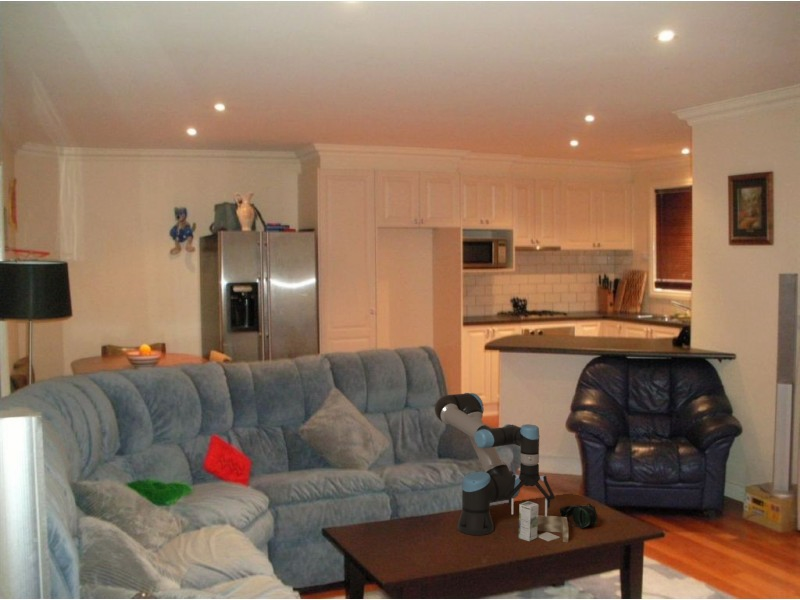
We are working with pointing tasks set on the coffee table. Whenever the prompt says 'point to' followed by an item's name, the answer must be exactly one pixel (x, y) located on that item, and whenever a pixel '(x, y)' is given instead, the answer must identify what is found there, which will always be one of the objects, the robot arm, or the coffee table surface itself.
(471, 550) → the coffee table surface
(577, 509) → the headphones
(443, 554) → the coffee table surface
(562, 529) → the beige l-shaped wall
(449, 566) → the coffee table surface
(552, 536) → the pad
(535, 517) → the syrup box
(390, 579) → the coffee table surface
